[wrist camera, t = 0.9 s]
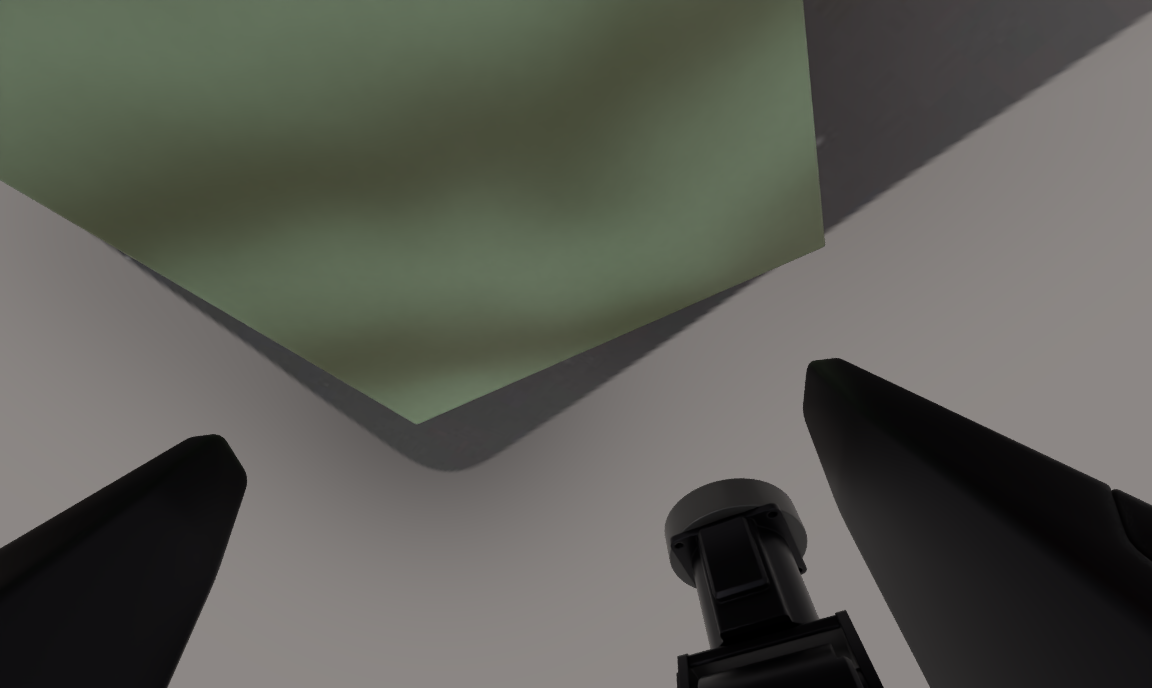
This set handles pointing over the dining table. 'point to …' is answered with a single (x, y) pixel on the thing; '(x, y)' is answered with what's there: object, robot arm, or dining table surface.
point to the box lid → (423, 166)
